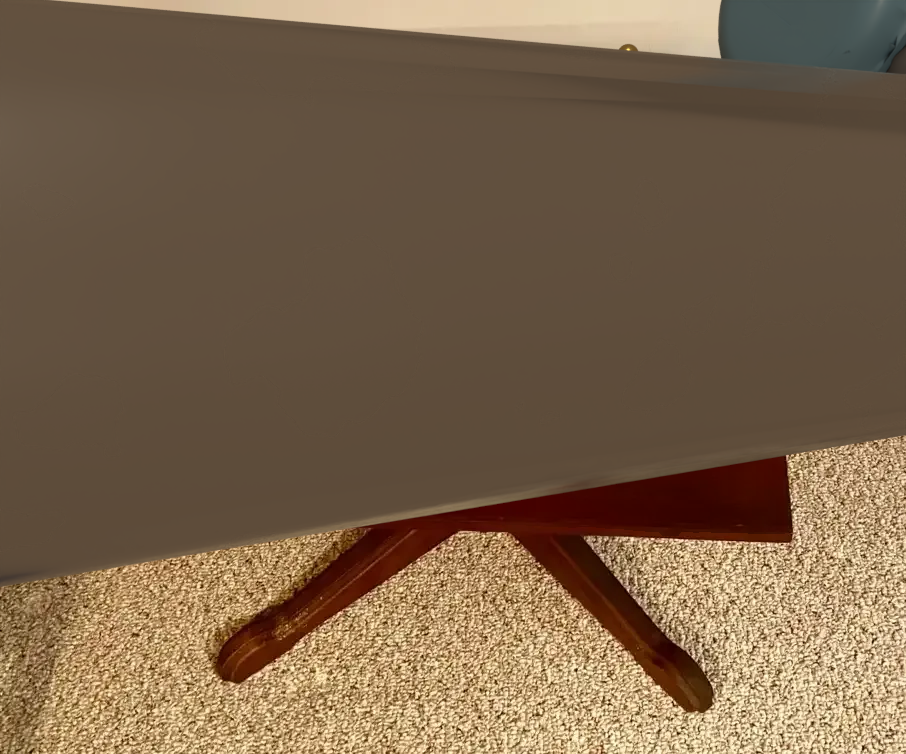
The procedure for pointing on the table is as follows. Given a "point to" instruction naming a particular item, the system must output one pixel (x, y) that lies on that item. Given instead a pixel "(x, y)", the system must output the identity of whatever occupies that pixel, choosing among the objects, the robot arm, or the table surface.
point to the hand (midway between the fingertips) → (559, 251)
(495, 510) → the table surface
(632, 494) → the table surface
